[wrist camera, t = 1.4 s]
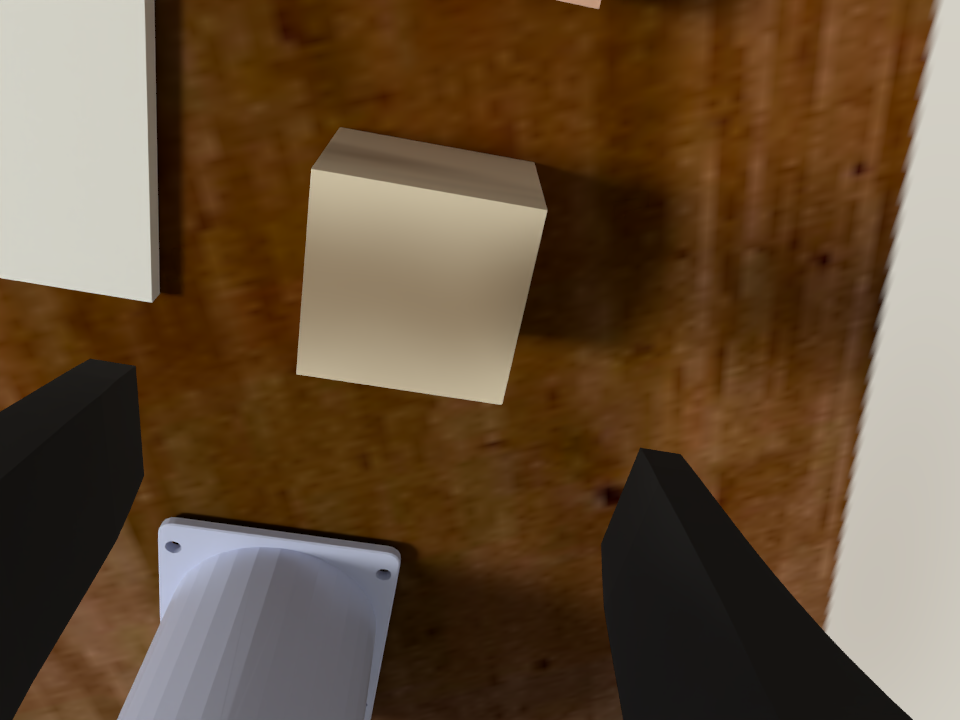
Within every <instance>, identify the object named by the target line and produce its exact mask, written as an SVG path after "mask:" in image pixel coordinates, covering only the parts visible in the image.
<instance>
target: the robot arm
mask: <svg viewBox="0 0 960 720" xmlns="http://www.w3.org/2000/svg"><path fill="white" fill-rule="evenodd" d="M143 477H144V469H143V456H142V443H141V430H140V417H139V404H138V391H137V378H136V366H132V365H125V364H119V363H113V362H107V361H101V360H95V359H89V360H87V361H85V362H84V363H82V364H80V365H78V366H76V367H75V368H73V369H71V370H69V371H68V372H66V373H64V374H63V375H61V376H59V377H58V378H56V379H54V380H53V381H51V382H49V383H48V384H46V385H44V386H43V387H41V388H39V389H38V390H36V391H34V392H33V393H31V394H29V395H28V396H26V397H24V398H23V399H21V400H19V401H18V402H16V403H14V404H13V405H11V406H9V407H8V408H6V409H4V410H2V411H1V412H0V720H13V718H14V716H15V714H16V712H17V710H18V708H19V706H20V705H21V703H22V701H23V699H24V697H25V695H26V693H27V692H28V690H29V688H30V686H31V684H32V682H33V681H34V679H35V677H36V676H37V674H38V672H39V671H40V669H41V667H42V666H43V664H44V662H45V661H46V659H47V657H48V656H49V654H50V652H51V651H52V649H53V647H54V646H55V644H56V642H57V640H58V639H59V637H60V635H61V634H62V632H63V630H64V629H65V627H66V625H67V624H68V622H69V620H70V619H71V617H72V615H73V614H74V612H75V610H76V609H77V607H78V605H79V604H80V602H81V600H82V598H83V597H84V595H85V593H86V592H87V590H88V588H89V587H90V585H91V583H92V582H93V580H94V578H95V576H96V575H97V573H98V571H99V570H100V568H101V566H102V564H103V563H104V561H105V559H106V558H107V556H108V554H109V552H110V551H111V549H112V547H113V545H114V544H115V542H116V540H117V538H118V536H119V534H120V531H121V529H122V527H123V525H124V522H125V520H126V518H127V516H128V513H129V511H130V509H131V506H132V504H133V501H134V499H135V496H136V494H137V492H138V489H139V487H140V484H141V482H142V479H143ZM171 541H174V542H177V543H178V544H180V545H177V544H174V543H172V542H171ZM601 550H602V580H603V597H604V610H605V617H606V623H607V629H608V635H609V641H610V647H611V653H612V659H613V664H614V670H615V676H616V681H617V687H618V692H619V698H620V704H621V709H622V715H623V720H913V719H912V718H911V717H910V716H908V715H907V714H906V713H905V712H904V711H903V710H902V709H901V708H900V707H899V706H898V705H897V704H895V703H894V702H893V701H892V700H891V699H890V698H889V697H888V696H887V695H886V694H885V693H884V692H883V691H882V690H881V689H880V688H879V687H878V686H877V685H876V684H875V683H874V682H873V681H872V680H871V679H870V678H869V677H868V676H867V675H866V674H865V673H864V672H863V671H862V670H861V669H860V668H859V667H858V666H857V665H856V664H855V663H854V662H853V661H852V660H851V659H850V658H849V657H848V656H847V655H846V654H845V653H844V652H843V651H842V650H841V649H840V648H839V647H838V646H837V645H836V644H835V643H834V641H832V639H831V638H830V637H829V636H828V635H827V634H826V633H825V632H824V631H823V630H822V628H821V627H820V626H819V625H818V624H817V623H816V622H815V621H814V619H813V618H812V617H811V616H810V615H809V614H808V613H807V612H806V610H805V609H804V608H803V607H802V606H801V605H800V604H799V603H798V601H797V600H796V599H795V598H794V597H793V596H792V595H791V594H790V592H789V591H788V590H787V589H786V588H785V586H784V585H783V584H782V583H781V582H780V580H779V579H778V578H777V577H776V576H775V575H774V573H773V572H772V571H771V570H770V568H769V567H768V566H767V565H766V564H765V562H764V561H763V560H762V559H761V557H760V556H759V555H758V554H757V552H756V551H755V550H754V549H753V547H752V546H751V545H750V544H749V542H748V541H747V540H746V539H745V537H744V536H743V535H742V533H741V532H740V531H739V530H738V528H737V527H736V526H735V524H734V523H733V522H732V520H731V519H730V518H729V517H728V515H727V514H726V513H725V511H724V510H723V509H722V507H721V506H720V505H719V503H718V502H717V501H716V500H715V498H714V497H713V496H712V494H711V493H710V492H709V490H708V489H707V488H706V486H705V485H704V484H703V482H702V481H701V480H700V478H699V477H698V476H697V475H696V473H695V472H694V471H693V469H692V468H691V467H690V466H689V464H688V463H687V462H686V461H685V459H684V458H683V457H682V456H681V454H675V453H669V452H663V451H657V450H651V449H645V448H640V450H639V452H638V455H637V457H636V460H635V462H634V464H633V467H632V469H631V472H630V474H629V477H628V479H627V482H626V484H625V487H624V489H623V492H622V494H621V496H620V499H619V501H618V504H617V506H616V509H615V511H614V514H613V516H612V519H611V521H610V524H609V526H608V529H607V531H606V533H605V536H604V538H603V541H602V543H601ZM158 551H159V594H160V625H159V627H158V630H157V632H156V634H155V636H154V639H153V641H152V643H151V645H150V647H149V650H148V652H147V654H146V656H145V659H144V661H143V663H142V665H141V667H140V670H139V672H138V674H137V676H136V679H135V681H134V683H133V685H132V688H131V690H130V692H129V694H128V696H127V699H126V701H125V703H124V705H123V708H122V710H121V712H120V714H119V716H118V719H117V720H371V715H372V710H373V705H374V700H375V694H376V689H377V684H378V679H379V673H380V668H381V663H382V658H383V653H384V647H385V642H386V637H387V632H388V626H389V621H390V616H391V611H392V605H393V600H394V595H395V590H396V585H397V579H398V574H399V569H400V563H401V554H400V553H399V551H398V550H397V549H395V548H394V547H390V546H385V545H378V544H370V543H363V542H355V541H348V540H341V539H333V538H326V537H318V536H311V535H304V534H296V533H289V532H281V531H274V530H267V529H259V528H252V527H244V526H237V525H230V524H222V523H215V522H207V521H200V520H193V519H185V518H178V517H171V518H168V519H165V520H164V521H163V522H162V524H161V526H160V528H159V531H158ZM380 569H386V570H388V572H383V571H380Z"/></svg>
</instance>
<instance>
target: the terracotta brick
mask: <svg viewBox="0 0 960 720" xmlns="http://www.w3.org/2000/svg"><path fill="white" fill-rule="evenodd" d="M558 1H563V2H567V3H572V4H577V5H582V6H586V7H591V8H596V9H599V7H600V3H601V0H558Z"/></svg>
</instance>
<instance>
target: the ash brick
mask: <svg viewBox="0 0 960 720" xmlns="http://www.w3.org/2000/svg"><path fill="white" fill-rule="evenodd" d="M546 215H547V207H546V203H545V199H544V196H543V192H542V188H541V185H540V181H539V177H538V174H537V170H536V166H535V163H534V162H529V161H524V160H518V159H513V158H507V157H502V156H496V155H491V154H485V153H480V152H474V151H469V150H463V149H458V148H452V147H447V146H441V145H436V144H430V143H425V142H419V141H414V140H408V139H403V138H397V137H391V136H386V135H380V134H375V133H369V132H364V131H358V130H353V129H347V128H342V127H340V128H339V129H338V131H337V132H336V134H335V135H334V136H333V138H332V139H331V141H330V142H329V144H328V145H327V147H326V148H325V150H324V151H323V152H322V154H321V155H320V157H319V158H318V160H317V161H316V163H315V164H314V166H313V167H312V169H311V180H310V194H309V207H308V221H307V235H306V248H305V262H304V276H303V289H302V303H301V317H300V330H299V344H298V358H297V371H296V374H298V375H305V376H312V377H318V378H325V379H332V380H339V381H345V382H352V383H359V384H365V385H372V386H379V387H385V388H392V389H399V390H406V391H412V392H419V393H426V394H432V395H439V396H446V397H452V398H459V399H466V400H473V401H479V402H486V403H493V404H499V405H502V402H503V398H504V394H505V390H506V385H507V381H508V377H509V373H510V368H511V364H512V360H513V355H514V351H515V347H516V343H517V338H518V334H519V330H520V326H521V321H522V317H523V313H524V308H525V304H526V300H527V296H528V291H529V287H530V283H531V279H532V274H533V270H534V266H535V261H536V257H537V253H538V249H539V244H540V240H541V236H542V232H543V227H544V223H545V219H546Z"/></svg>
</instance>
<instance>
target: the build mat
mask: <svg viewBox="0 0 960 720" xmlns="http://www.w3.org/2000/svg"><path fill="white" fill-rule="evenodd" d="M0 278H4V279H10V280H16V281H23V282H29V283H35V284H41V285H47V286H53V287H59V288H65V289H72V290H78V291H84V292H90V293H96V294H102V295H108V296H114V297H121V298H127V299H133V300H139V301H145V302H151V303H152V302H153V301H154V300H155V298H156V297H157V296H158V295H159V294H160V276H159V222H158V167H157V113H156V58H155V4H154V0H0Z"/></svg>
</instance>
